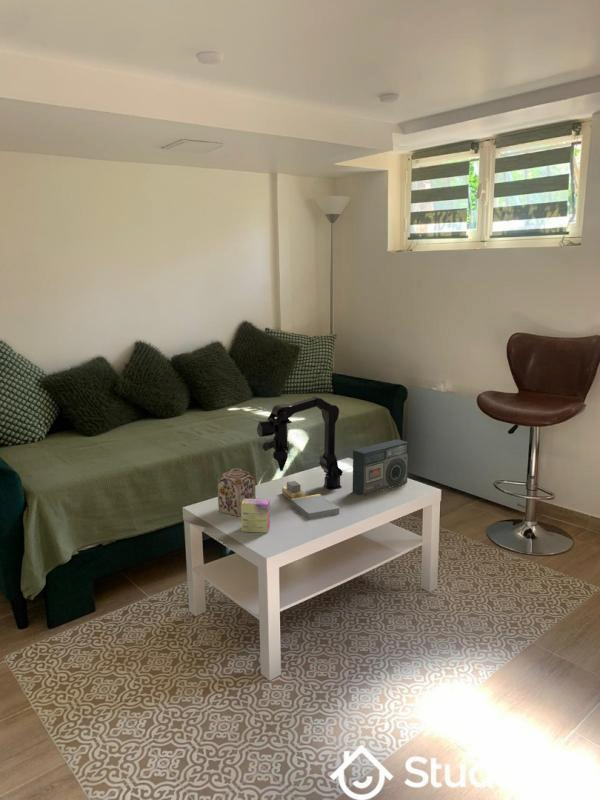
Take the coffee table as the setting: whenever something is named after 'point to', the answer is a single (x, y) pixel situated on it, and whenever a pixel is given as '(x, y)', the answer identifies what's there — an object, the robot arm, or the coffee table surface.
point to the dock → (314, 506)
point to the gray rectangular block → (293, 486)
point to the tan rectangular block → (292, 495)
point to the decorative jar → (235, 491)
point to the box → (255, 515)
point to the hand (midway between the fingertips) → (281, 467)
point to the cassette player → (380, 466)
